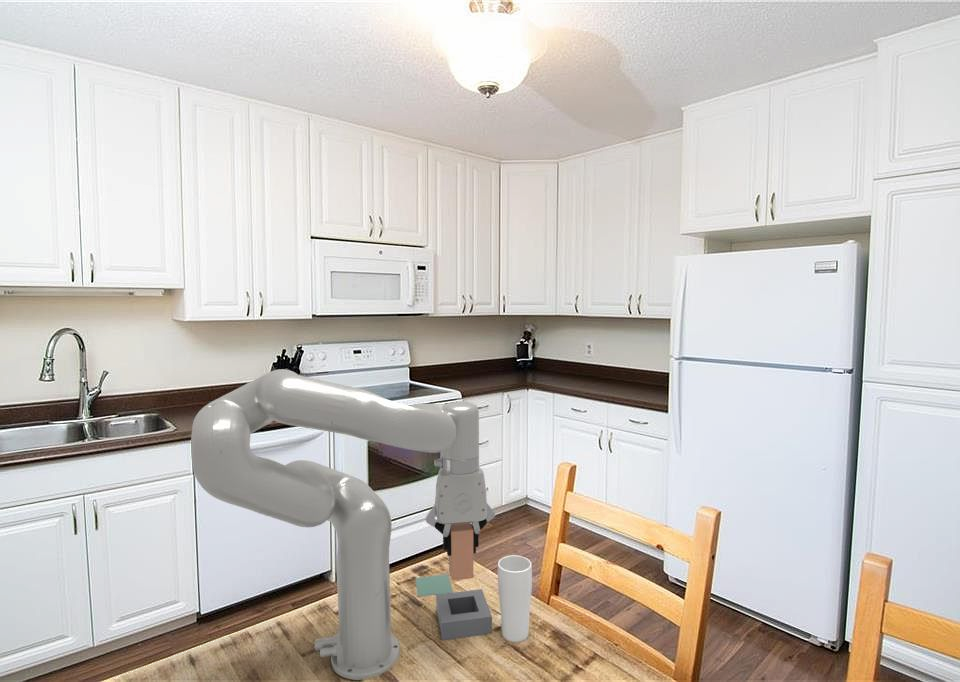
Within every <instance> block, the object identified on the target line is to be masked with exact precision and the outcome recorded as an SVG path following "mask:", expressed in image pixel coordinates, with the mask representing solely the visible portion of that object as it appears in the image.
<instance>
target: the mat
mask: <svg viewBox="0 0 960 682" xmlns="http://www.w3.org/2000/svg"><path fill="white" fill-rule="evenodd" d="M415 587H416V593H417V594H416V595H417V597H418V598H419V597H429V596H436V595H438V594H446V593H454V591H453V587H452V583H451V577H450V574H449V573H446V574H438V575H430V576H429V575H428V576H420V577H415Z"/></svg>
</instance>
